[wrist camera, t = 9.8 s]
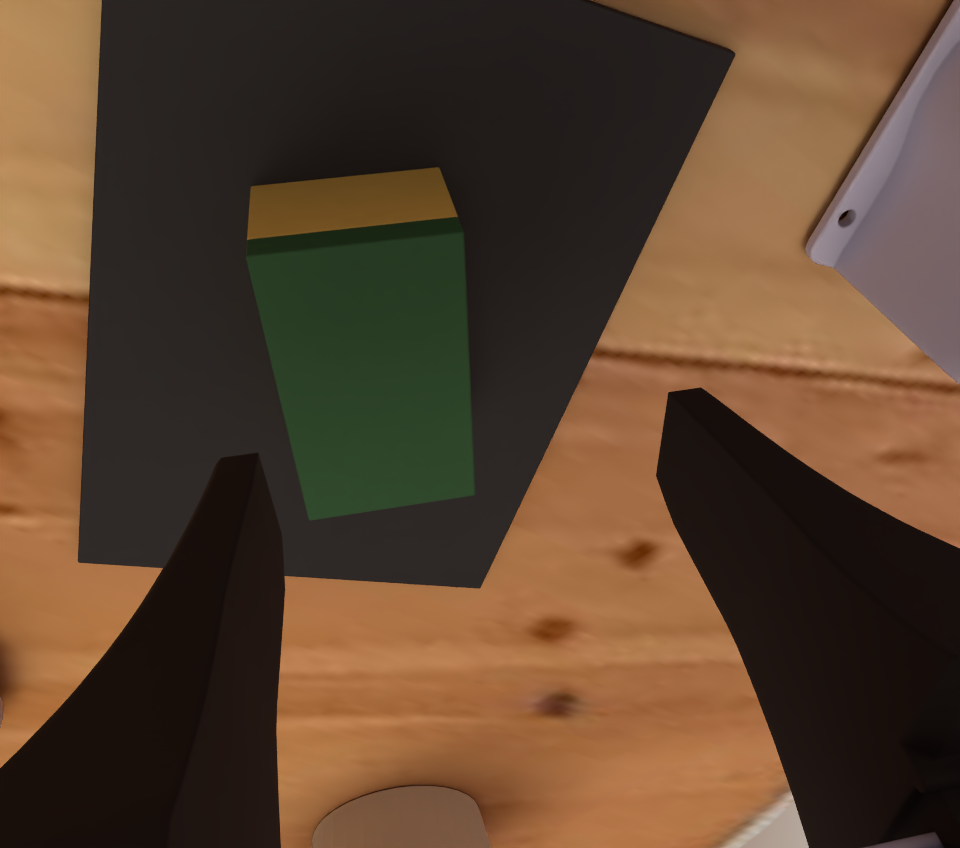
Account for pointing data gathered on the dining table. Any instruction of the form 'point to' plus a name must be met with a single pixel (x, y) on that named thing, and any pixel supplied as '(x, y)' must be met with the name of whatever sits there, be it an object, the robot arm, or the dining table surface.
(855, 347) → the dining table surface
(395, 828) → the reusable coffee cup
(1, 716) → the donut
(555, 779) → the dining table surface
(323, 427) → the sponge
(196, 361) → the drying mat
